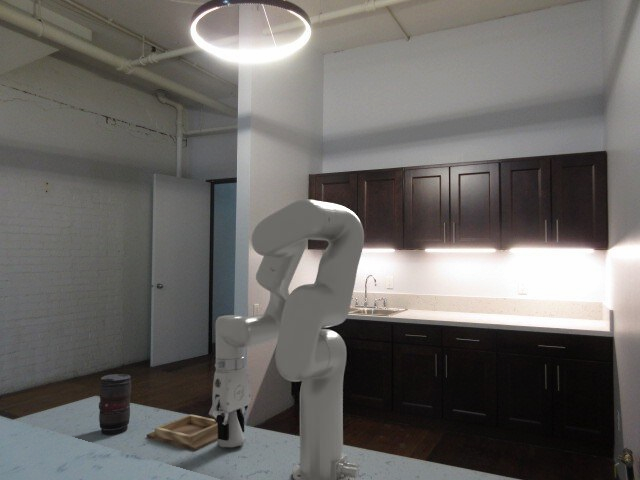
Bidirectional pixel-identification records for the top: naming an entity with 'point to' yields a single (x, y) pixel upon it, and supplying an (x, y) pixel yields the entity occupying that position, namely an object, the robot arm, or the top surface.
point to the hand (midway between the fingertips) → (231, 434)
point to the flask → (233, 432)
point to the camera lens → (114, 403)
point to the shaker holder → (187, 432)
